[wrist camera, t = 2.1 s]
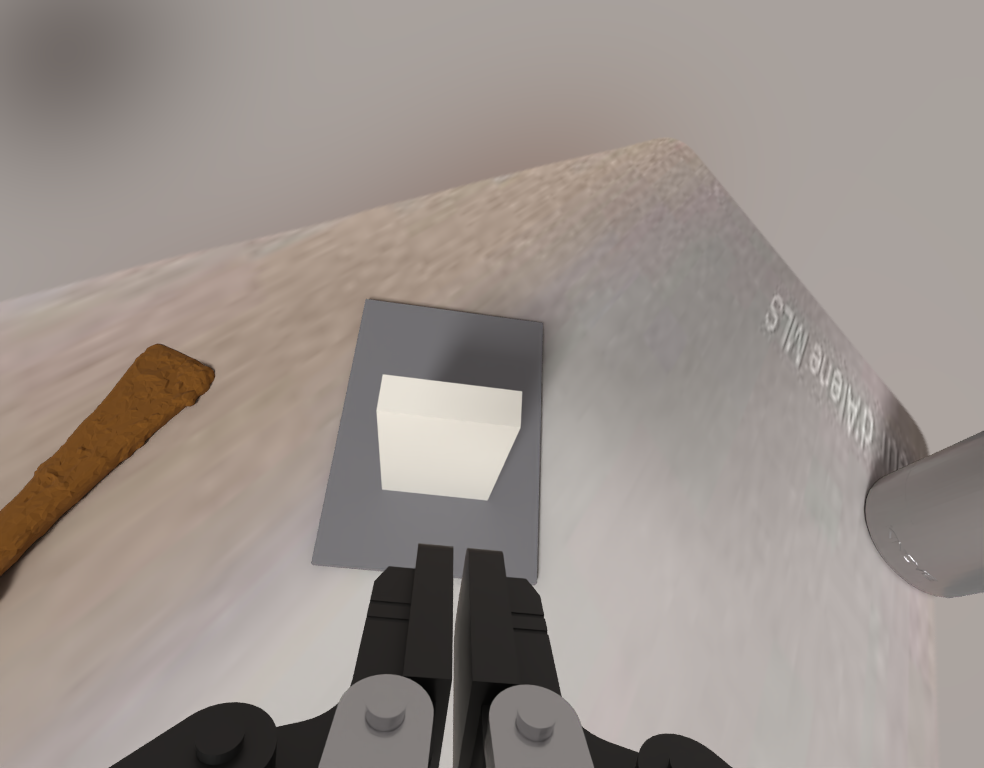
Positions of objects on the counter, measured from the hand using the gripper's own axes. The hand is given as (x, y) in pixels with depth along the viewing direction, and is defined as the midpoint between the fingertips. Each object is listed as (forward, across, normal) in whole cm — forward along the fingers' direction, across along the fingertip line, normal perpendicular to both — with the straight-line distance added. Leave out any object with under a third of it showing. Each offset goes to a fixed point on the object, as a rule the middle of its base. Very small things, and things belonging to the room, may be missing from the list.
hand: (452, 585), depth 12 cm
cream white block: (+26, 0, +10) cm, 28 cm away
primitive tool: (+26, +22, +12) cm, 36 cm away
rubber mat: (+29, 0, +8) cm, 30 cm away
